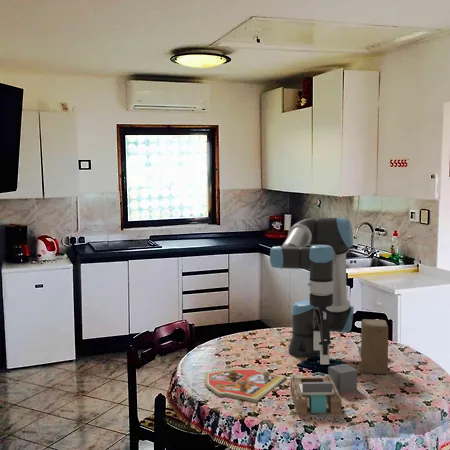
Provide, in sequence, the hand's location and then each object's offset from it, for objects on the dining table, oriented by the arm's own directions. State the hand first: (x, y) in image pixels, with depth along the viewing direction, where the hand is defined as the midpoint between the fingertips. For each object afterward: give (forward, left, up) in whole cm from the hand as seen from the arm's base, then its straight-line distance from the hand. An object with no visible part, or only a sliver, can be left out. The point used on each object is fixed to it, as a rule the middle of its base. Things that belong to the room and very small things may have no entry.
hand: (321, 356), depth 181 cm
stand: (-16, +21, -21) cm, 34 cm away
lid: (-8, +4, -15) cm, 18 cm away
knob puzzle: (-39, -11, -22) cm, 46 cm away
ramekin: (-39, +53, -21) cm, 69 cm away
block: (-5, +2, -20) cm, 21 cm away
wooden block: (-26, +44, -21) cm, 55 cm away
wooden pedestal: (-10, +5, -21) cm, 24 cm away
